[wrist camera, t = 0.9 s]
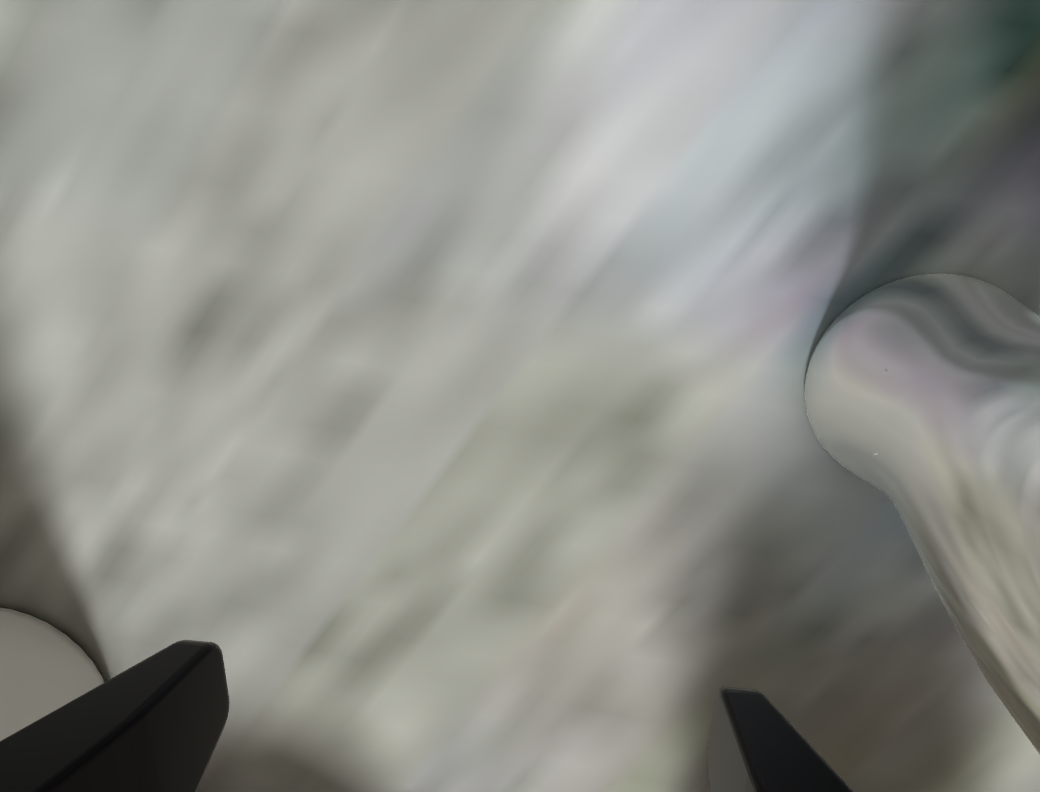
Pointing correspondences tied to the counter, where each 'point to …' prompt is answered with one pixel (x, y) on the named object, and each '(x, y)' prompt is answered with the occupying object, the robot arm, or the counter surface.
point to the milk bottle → (38, 670)
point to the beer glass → (949, 452)
